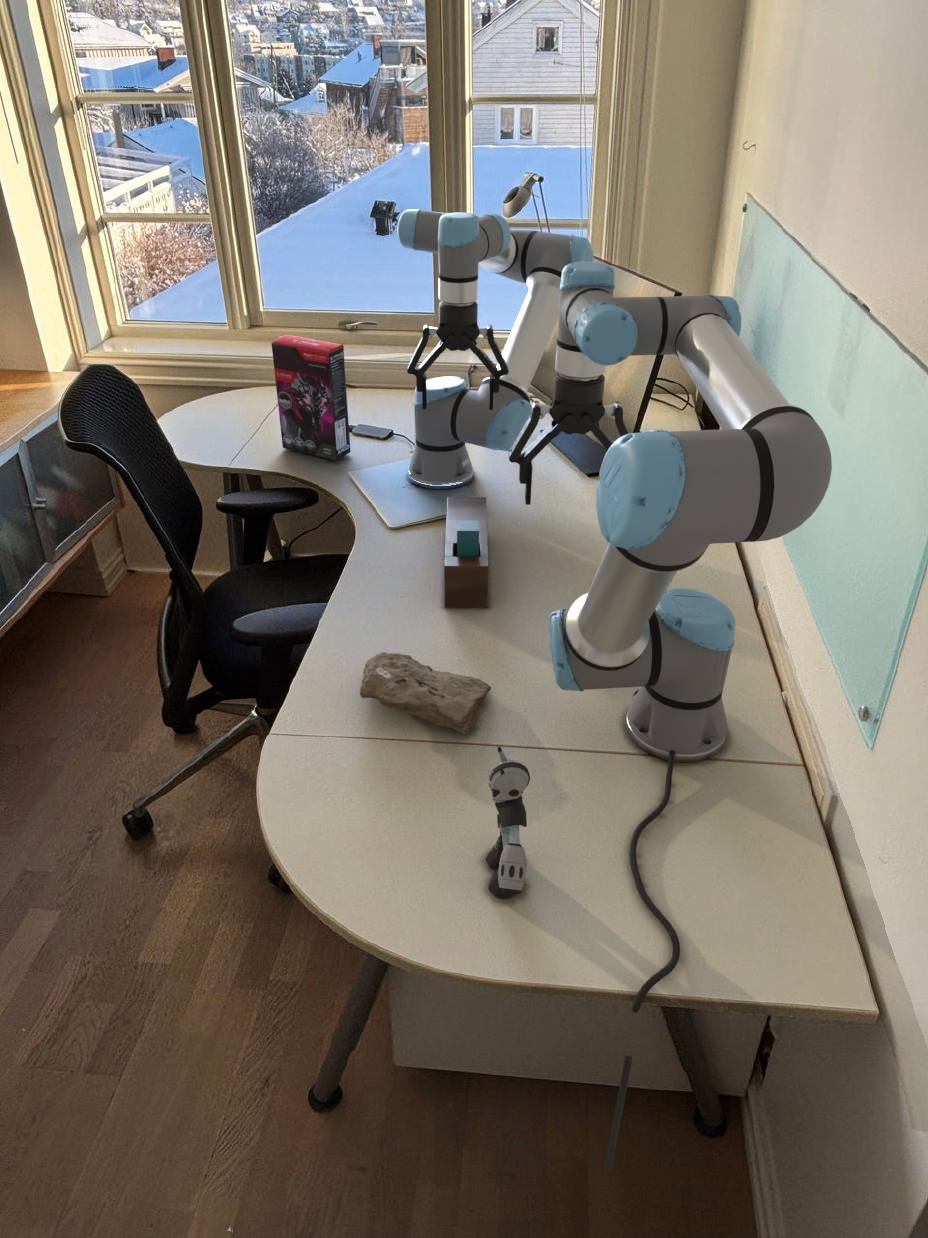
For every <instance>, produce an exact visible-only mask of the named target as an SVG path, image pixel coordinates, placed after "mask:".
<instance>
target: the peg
mask: <svg viewBox="0 0 928 1238" xmlns="http://www.w3.org/2000/svg"><path fill="white" fill-rule="evenodd" d="M457 557H479V521H457Z"/></svg>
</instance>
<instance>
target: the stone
mask: <svg viewBox="0 0 928 1238" xmlns="http://www.w3.org/2000/svg"><path fill="white" fill-rule="evenodd" d="M362 673H363V677H362V680H361V685H360V690H359V695H360V697H361V698H362V699H368V698H369V699H374V700H377V701H378V702H379V703H380V705H381V706H383V707H385V708H389V709H394V710H396V712H400V713H404V714H405V713H406V714H411V715H412V716H415V717H416V718H421V719H423V720H426V721H428V722H430V723H432V724H434V725H435V726H438V727H446V728H451V729H453V730H455V731H456V732H457V733H459V734H463V735H467V734H469V733H471V732H472V731H473V729H474V728H475V725H476V724H477V721H478V719H479V716H478V715H479V711H480V710H481V708H482V706H483V704H484V701H485V700H486V697H487V695H488V693H489V692H490V691H491V689H492V686H491V685H490V684H488V683H487V682H486V681H484V680H482V679H481V678H479V677H478V678H477V677H474V676H466V675H462V674H454V673H451V672H449V671H439V670H434V669H433V668H432V667H431V666H429V665H427V664H426V665H424V664H422V663H420V662H419V660H416V659H415V658H413V657H412V656H411V655H410V654H402V653H399V652H396V653H395V652H394V653H393V652H385V651H382V652H380V653H378V654H376V655H374V656H372V657H370V658H369V659H367V661H366V662H365V664H364V668H363V671H362Z"/></svg>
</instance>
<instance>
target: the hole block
mask: <svg viewBox="0 0 928 1238" xmlns="http://www.w3.org/2000/svg"><path fill="white" fill-rule="evenodd" d="M487 508H488V507H487V497H486V496H447V498H446V520H445V542H444V545H445V546H444V566H443V568H444V569H443V570H444V575H443V576H444V577H443V579H444V581H443V582H444V584H443V585H444V586H443V587H444V593H443V594H444V608H455V609H456V608H458V609H459V608H463V609H469V608H470V609H487V608H488V605H489V604H488V603H489V602H488V601H489V566H490V565H489V539H488V537H489V535H488V510H487ZM457 521H479V557H457Z"/></svg>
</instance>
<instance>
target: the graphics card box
mask: <svg viewBox="0 0 928 1238" xmlns="http://www.w3.org/2000/svg"><path fill="white" fill-rule="evenodd" d="M344 348H345V347H344V343H335V342H330V341H323V340H318V339H313V338H307V337H303V336H297V335H293V334H292V335H291V334H284V335H281V336H279V337H277V338H275V339H274V340H273V341H272V342H271V351H272V352H271V353H272V360H273V361H272V362H273V370H274V379H275V389H276V399H277V406H278V416H279V417H278V418H279V426H280V435H281V446H282V449H285V450H289V451H294V452H299V453H303V454H307V455H310V456H311V455H312V456H315V457H319V458H324V459H328V460H333V461H338V460H340V459H342V458H343V457H345V456H346V455H348V454H350V453H351V437H350V423H349V410H348V395H347V394H348V393H347V380H346V379H347V377H346V365H345V349H344Z"/></svg>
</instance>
